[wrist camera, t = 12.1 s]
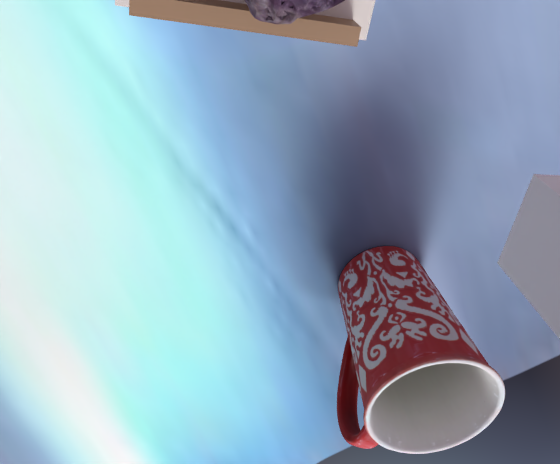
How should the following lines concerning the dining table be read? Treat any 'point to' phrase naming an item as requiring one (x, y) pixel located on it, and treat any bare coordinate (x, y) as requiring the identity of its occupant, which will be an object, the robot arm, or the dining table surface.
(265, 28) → the display stand
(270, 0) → the rock
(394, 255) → the mug
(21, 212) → the dining table surface
